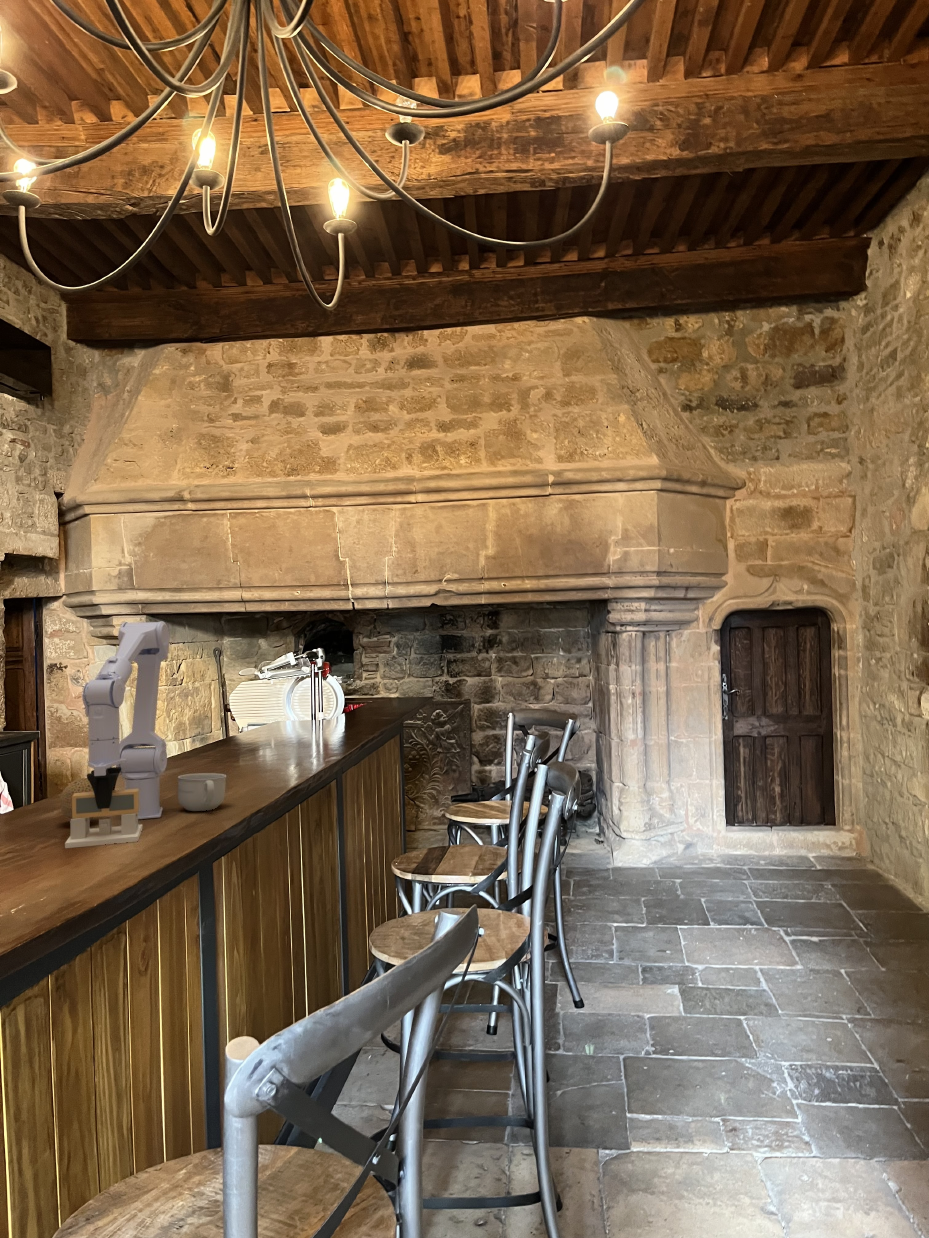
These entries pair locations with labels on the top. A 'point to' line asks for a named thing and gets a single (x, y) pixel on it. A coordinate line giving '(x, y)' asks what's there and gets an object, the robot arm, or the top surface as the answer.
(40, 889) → the top surface
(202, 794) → the teacup
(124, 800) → the wooden block with panels
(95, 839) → the display stand
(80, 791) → the natural sponge
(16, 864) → the top surface
